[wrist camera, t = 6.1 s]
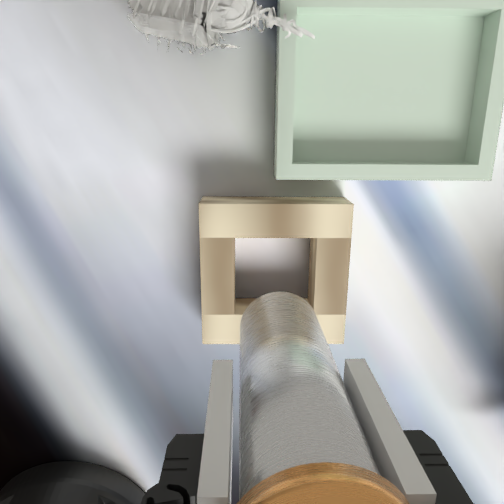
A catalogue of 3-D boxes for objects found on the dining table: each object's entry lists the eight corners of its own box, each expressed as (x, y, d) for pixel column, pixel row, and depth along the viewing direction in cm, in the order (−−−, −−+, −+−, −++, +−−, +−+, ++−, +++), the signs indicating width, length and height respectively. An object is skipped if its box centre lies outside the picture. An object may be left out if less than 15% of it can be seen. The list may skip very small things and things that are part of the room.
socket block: (206, 325, 34) (202, 343, 31) (203, 196, 31) (198, 203, 28) (335, 325, 34) (343, 343, 31) (343, 196, 31) (353, 204, 28)
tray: (273, 175, 31) (276, 179, 28) (277, -1, 27) (280, -13, 25) (472, 176, 31) (491, 180, 28) (497, 1, 28) (521, -11, 25)
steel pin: (232, 369, 23) (221, 661, 10) (231, 283, 22) (220, 498, 9) (323, 369, 23) (421, 657, 10) (328, 283, 22) (447, 495, 9)
